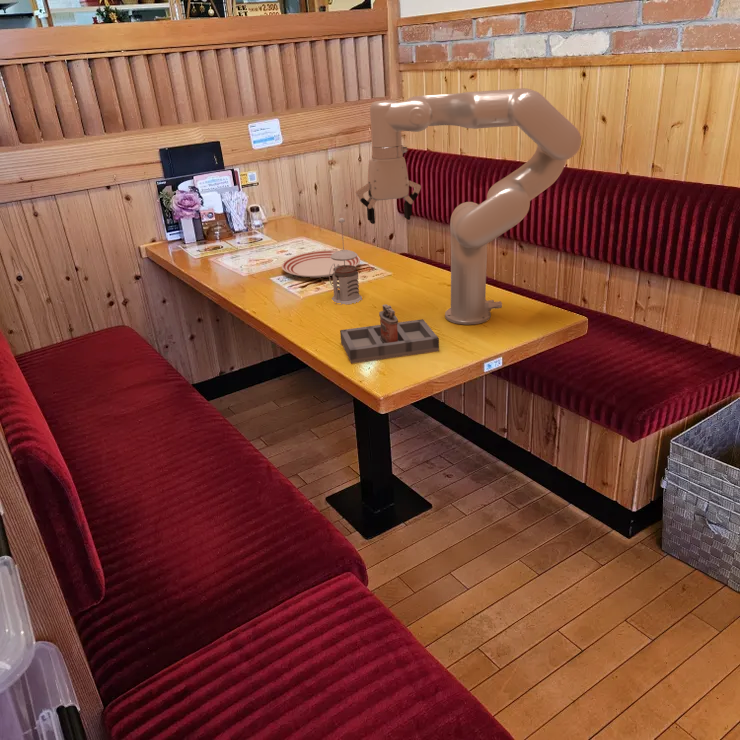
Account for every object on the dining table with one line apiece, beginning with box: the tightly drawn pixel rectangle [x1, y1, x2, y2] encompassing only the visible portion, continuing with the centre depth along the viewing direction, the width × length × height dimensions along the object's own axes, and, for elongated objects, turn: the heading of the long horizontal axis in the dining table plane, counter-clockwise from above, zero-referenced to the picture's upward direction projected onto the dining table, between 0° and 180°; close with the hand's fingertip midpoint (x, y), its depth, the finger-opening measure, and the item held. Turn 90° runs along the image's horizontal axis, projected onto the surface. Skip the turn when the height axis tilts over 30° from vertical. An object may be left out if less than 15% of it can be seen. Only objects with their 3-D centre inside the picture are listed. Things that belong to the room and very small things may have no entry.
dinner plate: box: [281, 249, 361, 279], centre depth 233 cm, size 27×27×3 cm
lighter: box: [378, 303, 399, 343], centre depth 169 cm, size 8×3×10 cm, turn 20°
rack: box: [339, 318, 440, 364], centre depth 171 cm, size 22×14×4 cm, turn 103°
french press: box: [328, 217, 363, 305], centre depth 200 cm, size 10×12×25 cm
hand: (389, 220), depth 176 cm, fingers open, 9 cm apart
